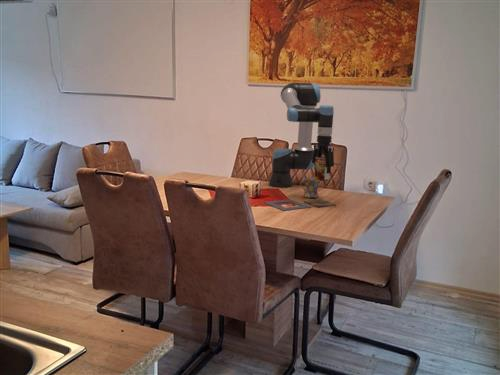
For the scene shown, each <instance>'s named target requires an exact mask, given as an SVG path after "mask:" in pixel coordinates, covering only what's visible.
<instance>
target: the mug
mask: <svg viewBox="0 0 500 375" xmlns="http://www.w3.org/2000/svg"><path fill="white" fill-rule="evenodd" d="M302 182H304V184H305V187H303V185H302ZM320 182H321V181H316V180H314V177H304V178H303V179H301V180H300V181H299V184H300V187H301V188H302V189H303V190H304V192H303V197H305V198H307V199H315V198H318V197H319V193H318V187H319V184H320Z"/></svg>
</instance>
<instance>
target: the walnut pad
mask: <svg viewBox="0 0 500 375" xmlns="http://www.w3.org/2000/svg"><path fill="white" fill-rule="evenodd" d="M303 204H305V205H308V206H311V207H315V208H318V209H319V208H329V207H334V206H335V207H336V206H337V205H336V203H335V202H331V201H327V200H324V199H321V198H318V199H310V200H304V201H303Z"/></svg>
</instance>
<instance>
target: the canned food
mask: <svg viewBox="0 0 500 375" xmlns="http://www.w3.org/2000/svg"><path fill="white" fill-rule="evenodd" d="M328 165H329V164H328ZM325 167H326V159H325V157H324V156H321V157H316V158H315V173H314V174H313V178H314V180H316V181H320V182H328V181H330V178H329V179H327V180H325V179H324V178H325Z"/></svg>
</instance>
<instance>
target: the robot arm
mask: <svg viewBox="0 0 500 375" xmlns="http://www.w3.org/2000/svg"><path fill="white" fill-rule="evenodd" d="M280 98H281V100H282V102H283V103H285V105H286V108H287V111H286V119H287V121H288V122H293V123H298V132H297V133H298V135H297V145H296V147H294V150H292V148H278V149H275V150H273V152H272V153H273V154H272V166H271V170H272V171H271V175H270V178H269V181H268V186H270V187H274V188H290V187H293V180H292V176H291V170H303V171H305V170H312V169H313V170H314V173H315V158H316V157H325V159H326V167H325V178H324V179H325V180H327V179H329V180H330V174H331V171H332V170H331V168H332V167H335V161H334V160H335V159H334V158H335V157H334V156H335V155H334V151H335V147H333V146H332V147H331V143H332V138H333V137H332V135H333V125H334V114H335V111H334V106H333V105H327V104H326V105H324V104H322V105H320V106H319V107H317V106H318V104H319V103H320V102H321V90H320V85H319V84H318V83H315V82H313V83H312V82H290V83H288V84H286V85H284V87H283V88H282V89H281V91H280ZM316 107H317V108H316ZM314 123H317V136H316V142H317V144H313V146H312V139H313V128H314V127H313V126H314ZM322 155H323V156H322ZM328 164H329V165H328Z"/></svg>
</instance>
